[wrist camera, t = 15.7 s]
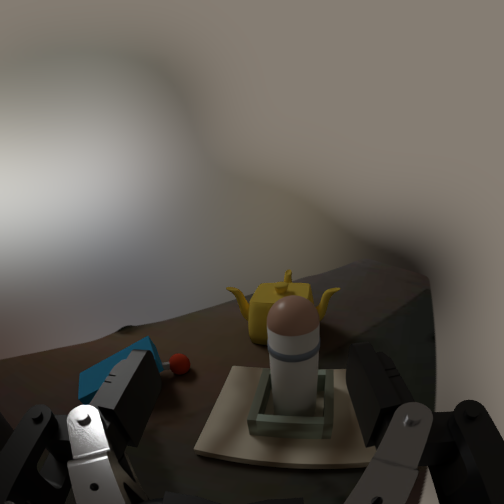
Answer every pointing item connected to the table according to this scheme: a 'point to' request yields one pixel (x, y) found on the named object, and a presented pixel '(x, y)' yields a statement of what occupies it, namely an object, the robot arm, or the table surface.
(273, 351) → the brown-capped white canister
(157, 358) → the lever
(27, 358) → the table surface
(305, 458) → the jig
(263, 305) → the teapot
